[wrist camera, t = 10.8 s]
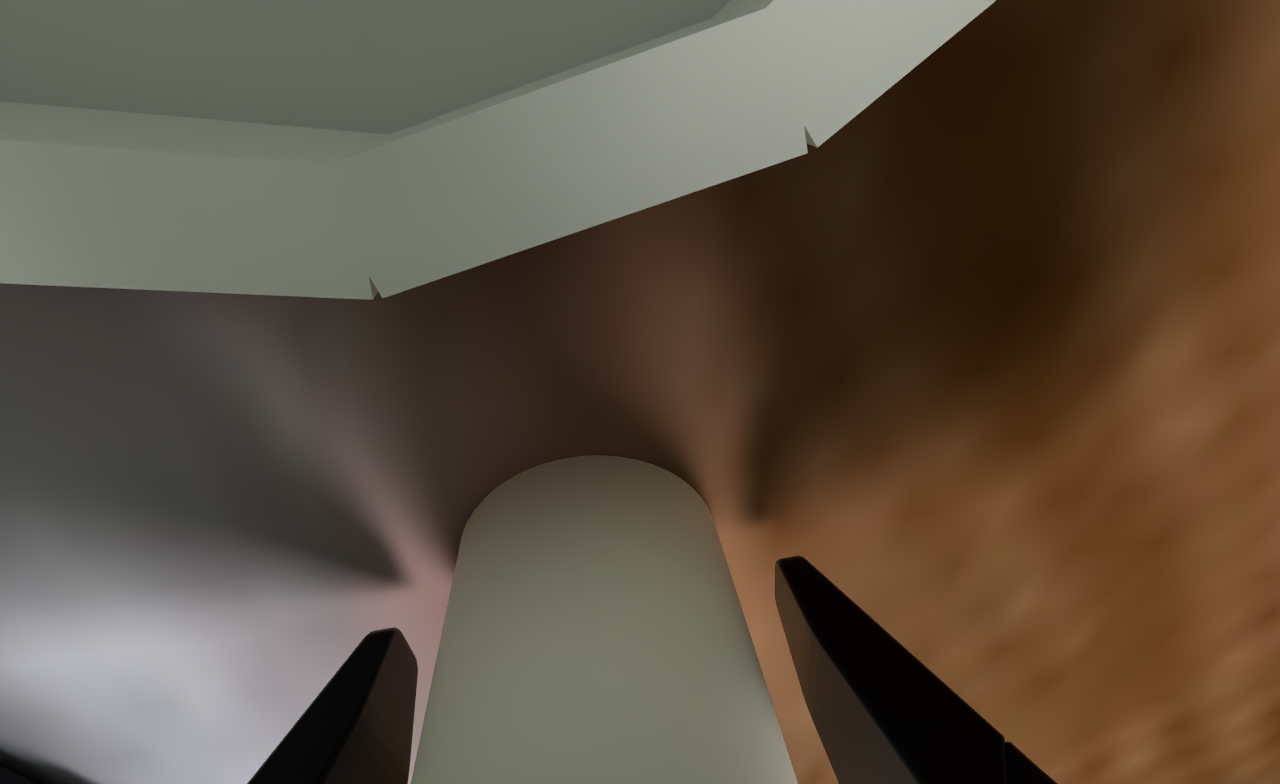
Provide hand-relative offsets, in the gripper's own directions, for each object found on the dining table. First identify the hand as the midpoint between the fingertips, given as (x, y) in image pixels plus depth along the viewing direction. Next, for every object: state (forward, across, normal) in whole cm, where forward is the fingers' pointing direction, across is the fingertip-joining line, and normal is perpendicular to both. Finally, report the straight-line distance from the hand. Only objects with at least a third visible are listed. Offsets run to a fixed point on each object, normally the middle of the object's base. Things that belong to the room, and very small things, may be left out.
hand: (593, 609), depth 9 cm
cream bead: (+1, 0, 0) cm, 1 cm away
